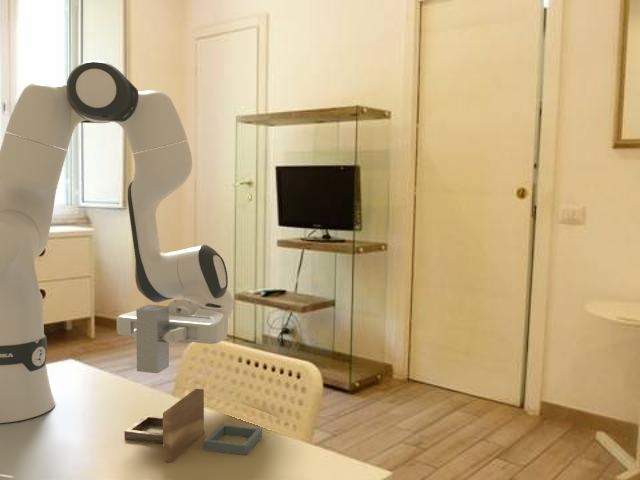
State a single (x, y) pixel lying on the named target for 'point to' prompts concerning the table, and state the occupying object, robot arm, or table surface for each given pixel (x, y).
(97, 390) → the table surface
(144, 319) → the block
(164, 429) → the board
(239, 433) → the keeper socket
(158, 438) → the key socket
